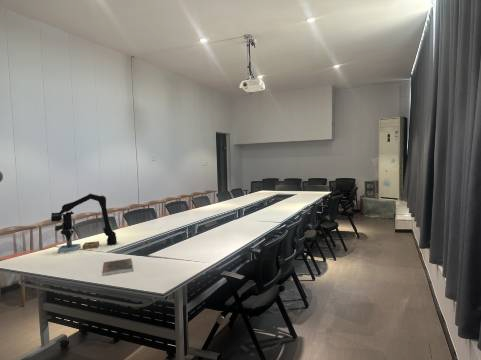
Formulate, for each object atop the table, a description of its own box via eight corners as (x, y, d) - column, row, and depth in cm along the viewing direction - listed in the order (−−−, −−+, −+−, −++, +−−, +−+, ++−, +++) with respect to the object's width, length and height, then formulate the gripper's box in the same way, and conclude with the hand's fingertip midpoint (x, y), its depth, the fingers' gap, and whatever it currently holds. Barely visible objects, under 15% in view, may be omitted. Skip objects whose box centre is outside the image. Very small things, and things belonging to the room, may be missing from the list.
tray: (80, 247, 246) (80, 243, 246) (77, 251, 235) (77, 247, 235) (62, 249, 242) (61, 245, 242) (58, 253, 232) (57, 249, 231)
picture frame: (132, 271, 185) (131, 261, 205) (132, 267, 184) (131, 257, 204) (102, 276, 179) (103, 265, 199) (102, 272, 178) (103, 261, 199)
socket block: (99, 245, 249) (98, 241, 249) (97, 248, 240) (97, 244, 239) (85, 247, 246) (85, 242, 246) (82, 250, 237) (82, 245, 237)
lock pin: (72, 245, 241) (71, 232, 240) (71, 246, 237) (70, 233, 237) (67, 246, 240) (66, 233, 239) (66, 247, 236) (65, 234, 236)
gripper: (58, 219, 244) (60, 239, 245) (51, 223, 226) (53, 245, 227) (74, 218, 247) (76, 237, 248) (69, 222, 229) (70, 243, 230)
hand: (69, 240), depth 238 cm, fingers closed on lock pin, 3 cm apart
